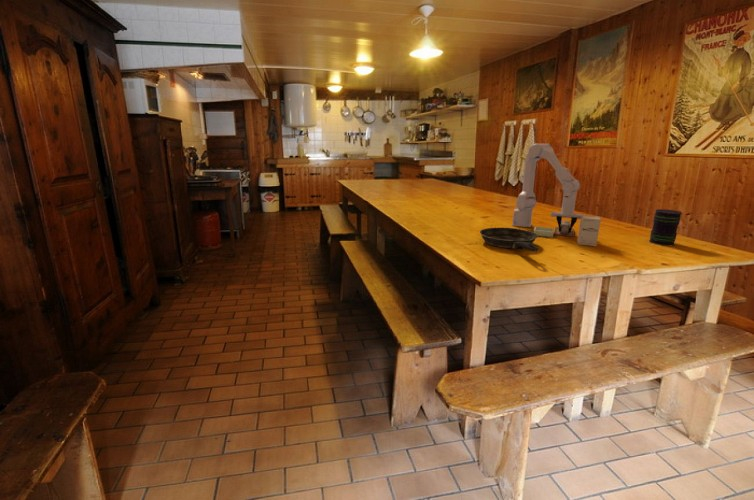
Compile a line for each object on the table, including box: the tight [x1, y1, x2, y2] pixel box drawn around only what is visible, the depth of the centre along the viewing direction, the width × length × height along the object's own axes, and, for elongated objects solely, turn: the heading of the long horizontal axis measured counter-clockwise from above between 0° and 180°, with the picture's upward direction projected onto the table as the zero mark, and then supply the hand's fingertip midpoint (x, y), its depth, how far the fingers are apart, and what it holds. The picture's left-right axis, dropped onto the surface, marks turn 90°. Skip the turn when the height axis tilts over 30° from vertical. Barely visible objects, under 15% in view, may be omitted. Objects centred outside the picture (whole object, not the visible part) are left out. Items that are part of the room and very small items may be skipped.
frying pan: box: [479, 227, 539, 252], centre depth 173 cm, size 44×25×7 cm, turn 179°
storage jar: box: [649, 209, 682, 247], centre depth 184 cm, size 10×10×15 cm
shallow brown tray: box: [553, 226, 575, 238], centre depth 204 cm, size 9×16×1 cm, turn 155°
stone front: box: [560, 224, 570, 235], centre depth 199 cm, size 4×4×4 cm
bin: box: [532, 226, 555, 239], centre depth 199 cm, size 9×9×3 cm
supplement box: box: [576, 214, 602, 247], centre depth 181 cm, size 7×7×13 cm
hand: (564, 231), depth 199 cm, fingers closed on stone front, 4 cm apart
